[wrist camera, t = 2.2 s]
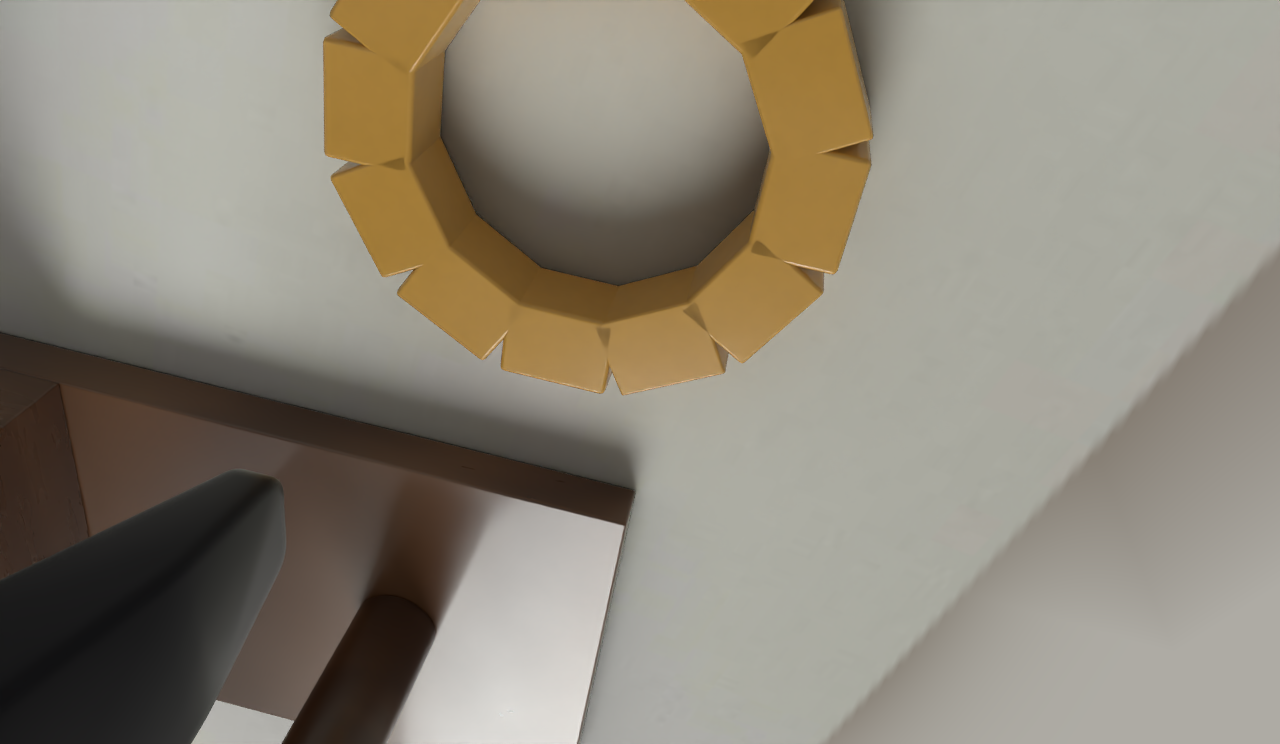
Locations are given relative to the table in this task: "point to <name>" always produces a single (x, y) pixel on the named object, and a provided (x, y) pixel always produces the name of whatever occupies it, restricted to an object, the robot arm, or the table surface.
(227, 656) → the robot arm
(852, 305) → the table surface
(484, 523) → the stand
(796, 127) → the brass ring
